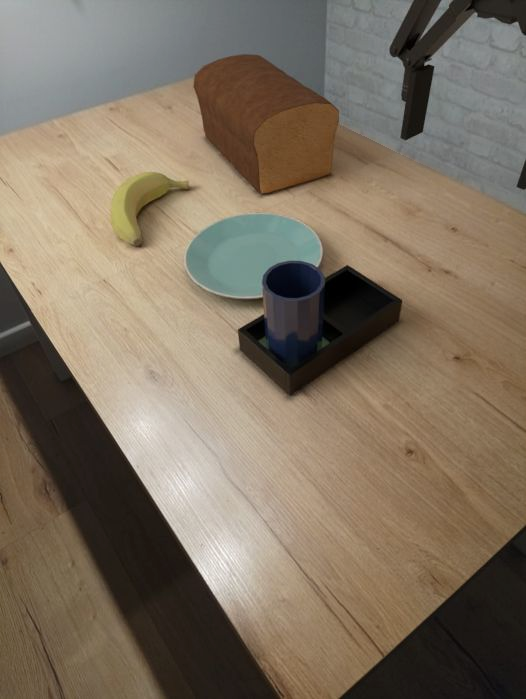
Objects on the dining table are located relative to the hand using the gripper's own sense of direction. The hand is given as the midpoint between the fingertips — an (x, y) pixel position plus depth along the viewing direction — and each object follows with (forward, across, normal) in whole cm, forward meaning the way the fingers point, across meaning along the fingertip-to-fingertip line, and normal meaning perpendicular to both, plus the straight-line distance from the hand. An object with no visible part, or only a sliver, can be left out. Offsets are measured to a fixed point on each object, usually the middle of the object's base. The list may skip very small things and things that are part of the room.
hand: (465, 157), depth 51 cm
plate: (+27, +29, +6) cm, 40 cm away
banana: (+27, +54, +10) cm, 61 cm away
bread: (+27, +57, -18) cm, 66 cm away
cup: (+26, +10, +14) cm, 31 cm away
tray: (+27, +10, +9) cm, 30 cm away
